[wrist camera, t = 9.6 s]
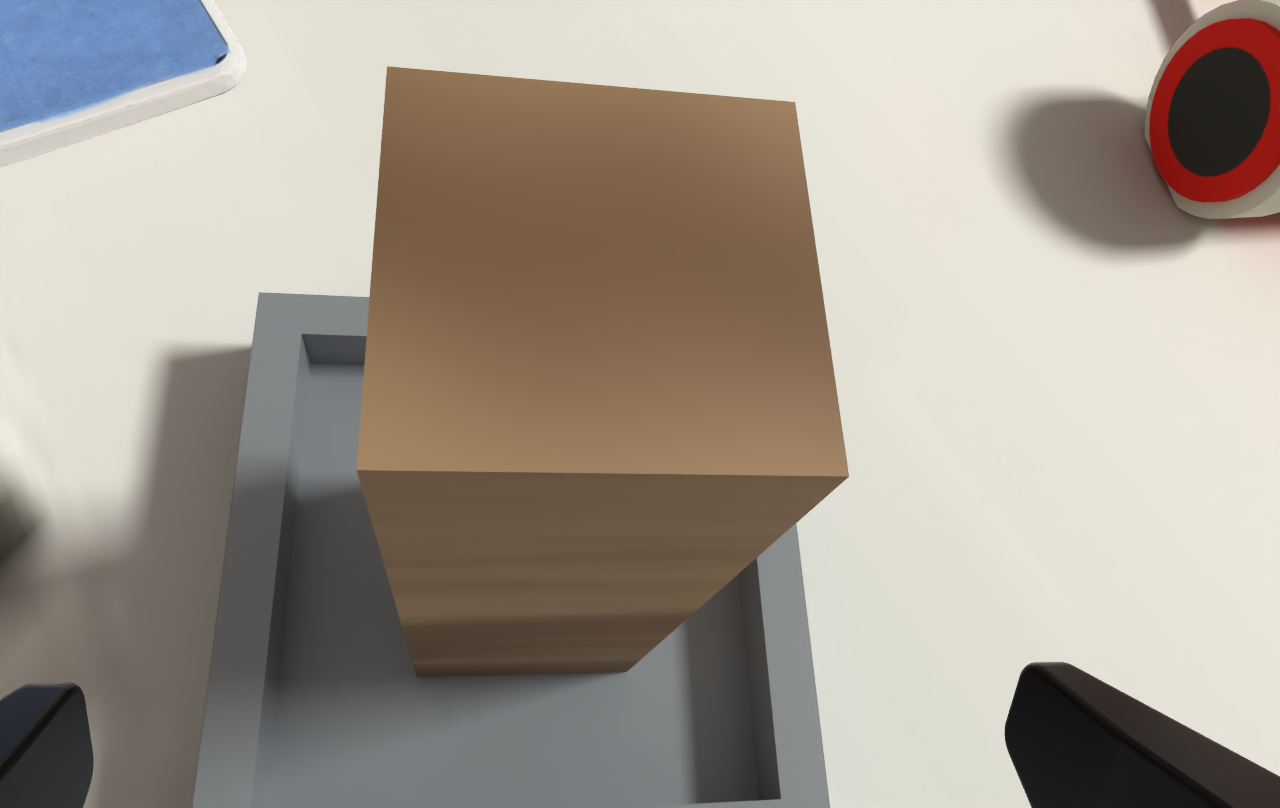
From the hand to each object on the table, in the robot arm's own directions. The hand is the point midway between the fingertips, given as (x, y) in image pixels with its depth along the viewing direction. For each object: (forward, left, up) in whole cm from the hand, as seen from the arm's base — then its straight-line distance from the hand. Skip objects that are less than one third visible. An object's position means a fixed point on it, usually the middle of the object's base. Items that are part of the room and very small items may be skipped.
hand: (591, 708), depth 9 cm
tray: (+4, +2, -13) cm, 13 cm away
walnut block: (+4, +2, -12) cm, 12 cm away
